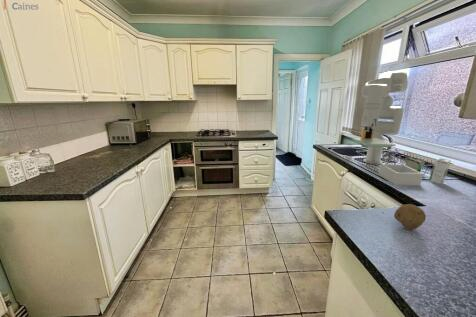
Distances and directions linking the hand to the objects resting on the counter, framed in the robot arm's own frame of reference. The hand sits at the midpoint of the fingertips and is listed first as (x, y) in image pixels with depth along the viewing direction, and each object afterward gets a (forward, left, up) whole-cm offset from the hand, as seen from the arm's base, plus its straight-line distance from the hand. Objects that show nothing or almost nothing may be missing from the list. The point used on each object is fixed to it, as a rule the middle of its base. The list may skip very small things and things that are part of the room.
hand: (366, 137), depth 127 cm
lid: (+6, 0, -3) cm, 7 cm away
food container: (-8, +38, -25) cm, 46 cm away
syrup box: (+7, +40, -25) cm, 48 cm away
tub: (+6, +19, -25) cm, 32 cm away
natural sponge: (+55, -8, -25) cm, 61 cm away
